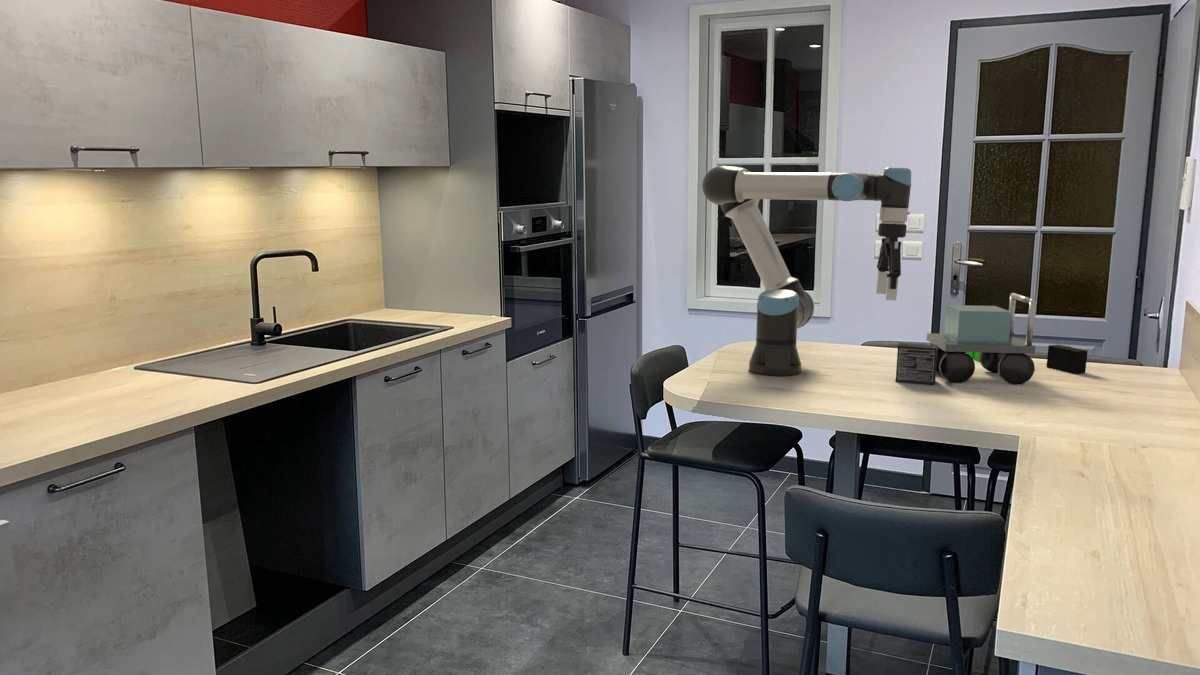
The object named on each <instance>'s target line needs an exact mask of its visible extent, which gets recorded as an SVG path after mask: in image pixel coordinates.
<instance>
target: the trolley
mask: <svg viewBox="0 0 1200 675" xmlns="http://www.w3.org/2000/svg"><path fill="white" fill-rule="evenodd" d="M1017 301H1020V302H1022V303H1025V304H1028V305H1029V306H1028V315H1027V326H1026V336H1025V340H1022V339H1020V338H1018V337H1015V336H1014V337H1013V332H1014V322H1015V314H1016V313H1015V312H1016V302H1017ZM1036 304H1037V301H1036V299H1034V298H1031V297H1028V296H1024V295H1022V294H1018V293H1015V292H1012V293H1010V294H1009V305H1008V310H1007V309H1005V308H1002V307H999V306H997V305H969V304H968V305H965V304H964V305H962V304H961V305H960V304H959V305H958V304H955V305H954V304H946V306H945V317H944V318H945V319H944V331H943V333H927V334H926V341H928V342H929V345H938V349H937V365H936V372H938V373H939V372H940V374H941V376H942V377H943V378H945V380H947V381H948V382H949V383H953V384H962V383H966V382H967V381H968V380H970V379H971V378H972V377H973V375H974V373H975V371H976V363H975V360H973V358H972V357H971V356H970V355H969V354H968V352H980V355H979V360H980V363H979V364H980V365H981V367H982V368H983V369H985V370H987V371H988V372H989V373H992V374H998V376H1000V378H1001V379H1002V380H1003V381H1005V382H1007V383H1008V384H1011V385H1013V386H1014V385H1016V386H1019V385H1023V384H1025V383H1028V382H1029V380H1031V378H1032V377H1033V376H1034V373H1035V369H1036V368H1035V367H1036V366H1035V362H1034V360H1033V359H1032V358H1031V357H1030V356H1029V355H1028V354H1035V353H1036V346H1035V345H1033V339H1034V338H1033V336H1034V328H1035V316H1036Z"/></svg>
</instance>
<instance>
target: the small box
mask: <svg viewBox="0 0 1200 675" xmlns="http://www.w3.org/2000/svg"><path fill="white" fill-rule="evenodd" d="M937 349H938V345H930V344H923V343H909V342H898V344H897V355H896V371H895V372H896V373H895V383H903V384H904V383H906V384H918V385H931V386H935V385H936V377H937V376H936V375H937V371H936V365H937Z"/></svg>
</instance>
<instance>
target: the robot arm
mask: <svg viewBox="0 0 1200 675" xmlns="http://www.w3.org/2000/svg"><path fill="white" fill-rule="evenodd" d="M701 187H702V192H703V194H704V197H705V198H706V199H707V200H708V201H709V202H711V203H713V204H715V205H718V206H720V208H721V210H722V212H723V215H724V217H727V218H729V219H731V220H732V222H733V224H734V226H735V228H736V230H737V232H738V235H739V237H740V238H741V241H742V242H743V244H744V246H745V248H746V251H747V253H748V255H749V257H750V260H751V261H752V263H753V265H754V268H755V270H756V272H757V274H758V276H759V278H760V281H761V282H762V285H763V287H764V291H762V292H761V293H759V295H758V298H757V303H756V309H757V310H756V329H755V330H756V333H755V346H754V349H753V351H752V353H751V357H750V358H749V362H748V363H749V364H748V370H749V371H750V372H752V373H754V374H759V375H765V376H778V377H779V376H780V377H781V376H783V377H784V376H794V375H798V374H800V373H802V361H801V359H800V354H799V351H798V348H797V347H798V346H797V338H798V336H797V334H798V329H800V328H802V327H804V326H806V325H807V324H808V323H809V322H810V320H811V319H812V318H813V315H814V312H815V302H814V300H813V297H812V296H811V294H810V293H808V292H807V291H806V290H804V289H803V286H802V285H801V282H800V280H799V278H796V277H793V276H791V274H790V271H789V269H788V267H787V265H786V263H785V260H784V258H783V256H782V255H781V251H780V250H779V248H778V245H777V244H776V242H775V240H774V238H773V236H772V234H771V231H770V229H769V228H768V225H767V223H766V221H765V219H764V217H763V215H762V213H761V210H760V209H759V203H760V200H787V201H788V200H790V201H791V200H795V201H797V200H798V201H799V200H800V201H837V202H838V201H839V202H840V201H842V202H852V201H873V202H874V201H876V202H880V209H879V219H878V220H879V222H880V223H879V224H878V233H877V235H878V236H879V237H881V245H880V249H879V255H878V261H877V264H876V269H877V270H878V271H877V281H876V289H875V290H876V291H875V294H878V295H885V300H886V301H897V294H898V284H899V277H901V275H902V271H901V268H902V267H901V266H902V265H901V264H902V262H901V254H902V253H901V251H902V250H901V248H902V247H901V246H902V242H901V241H899V238H906V235H907V227H908V225H907V224H905V223H907V221H908V216H910V214H911V211H909V205H910V204H909V203H910V199H911V198H910V197H911V196H910V195H911V187H912V171H911V169H910V168H907V167H885V168H884V170H883V172H882V173H879V174H875V173H874V174H873V173H860V172H859V173H856V172H751V171H749V170H748V169H746V168H744V167H742V166H740V165H739V166H737V165H730V166H728V165H718V166H715V167H713V168H711V169H709V170H708V171H707V173H706V174H705V175H704V176H703V180H702V186H701Z"/></svg>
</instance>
